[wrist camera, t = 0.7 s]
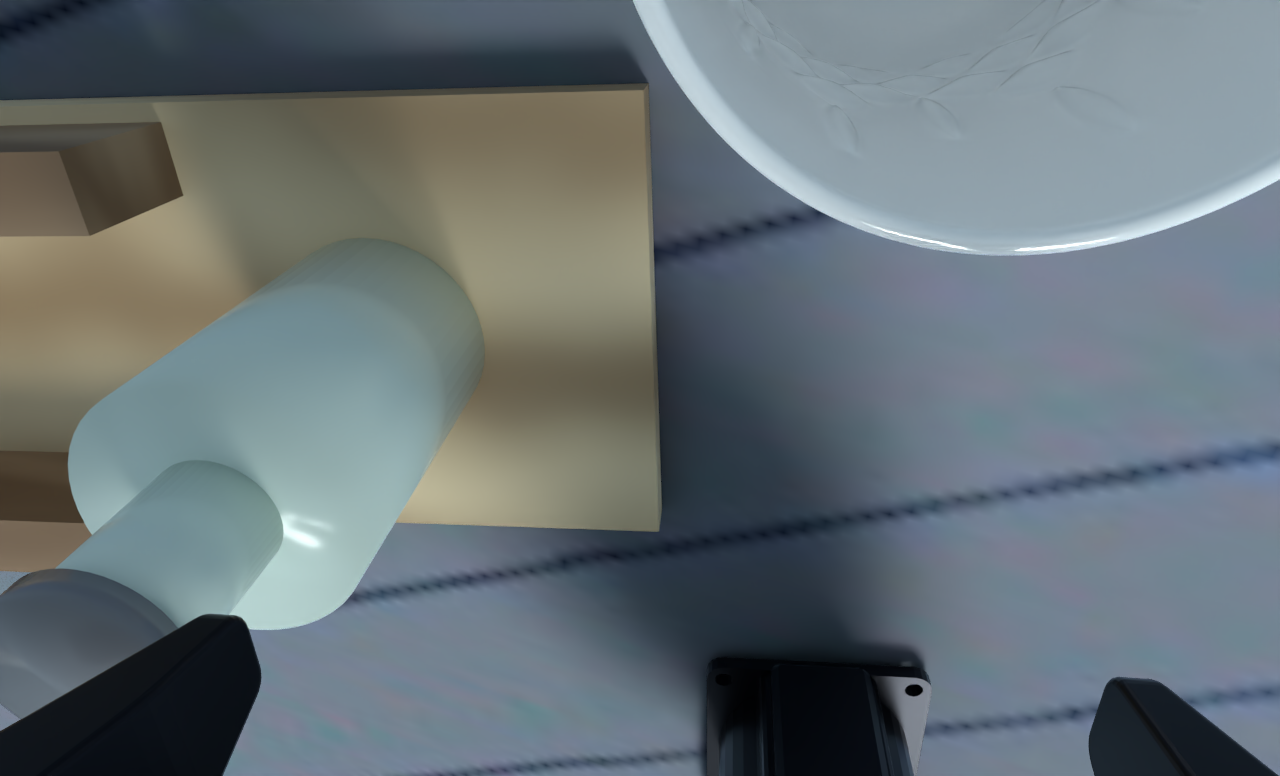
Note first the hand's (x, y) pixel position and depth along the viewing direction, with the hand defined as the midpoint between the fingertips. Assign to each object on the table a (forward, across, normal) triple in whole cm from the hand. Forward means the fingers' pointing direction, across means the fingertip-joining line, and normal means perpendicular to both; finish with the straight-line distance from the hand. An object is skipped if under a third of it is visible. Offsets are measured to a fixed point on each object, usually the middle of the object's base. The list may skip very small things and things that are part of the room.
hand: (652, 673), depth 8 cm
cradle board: (+12, +13, +1) cm, 17 cm away
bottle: (+11, +8, +1) cm, 13 cm away
